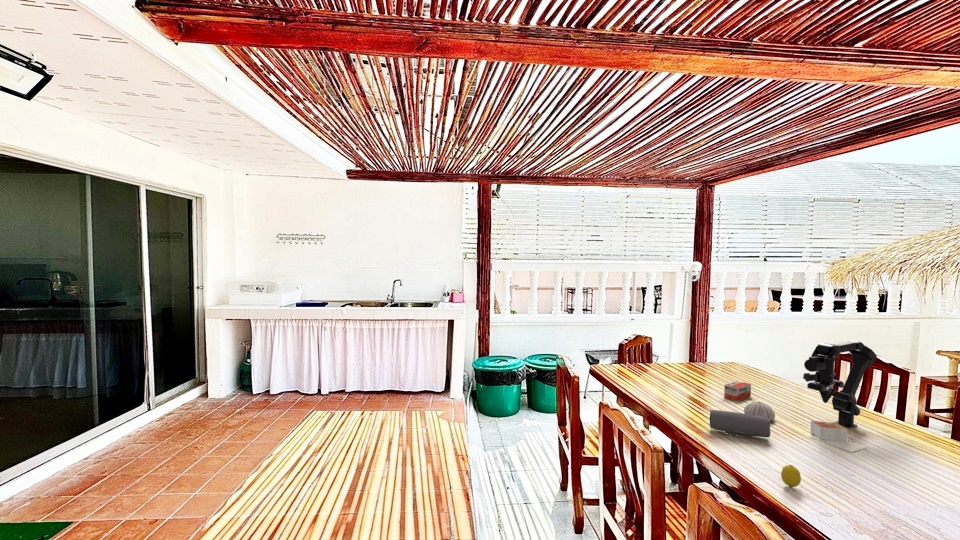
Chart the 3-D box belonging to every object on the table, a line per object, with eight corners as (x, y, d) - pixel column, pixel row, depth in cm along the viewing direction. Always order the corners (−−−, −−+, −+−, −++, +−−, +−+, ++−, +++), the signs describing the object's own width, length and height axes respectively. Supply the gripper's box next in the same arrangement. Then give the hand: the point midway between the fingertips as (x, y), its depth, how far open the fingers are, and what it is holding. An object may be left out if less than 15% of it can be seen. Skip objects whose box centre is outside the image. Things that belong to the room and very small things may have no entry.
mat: (823, 433, 193) (823, 432, 193) (866, 448, 178) (866, 447, 178) (809, 437, 189) (809, 436, 189) (852, 452, 174) (852, 451, 174)
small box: (848, 429, 183) (820, 427, 186) (847, 441, 184) (820, 439, 186) (836, 422, 191) (810, 420, 193) (835, 434, 191) (809, 432, 194)
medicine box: (736, 393, 251) (736, 380, 251) (751, 397, 245) (751, 383, 245) (723, 397, 243) (723, 384, 243) (738, 401, 236) (738, 387, 236)
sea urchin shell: (771, 425, 202) (771, 409, 202) (739, 417, 212) (739, 401, 212) (778, 418, 211) (779, 403, 211) (748, 411, 221) (748, 396, 221)
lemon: (776, 483, 149) (777, 461, 149) (791, 483, 149) (792, 460, 149) (789, 492, 143) (790, 469, 143) (804, 491, 144) (805, 468, 144)
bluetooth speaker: (766, 435, 190) (766, 413, 190) (770, 443, 181) (771, 421, 181) (709, 426, 200) (709, 406, 199) (710, 434, 191) (711, 412, 191)
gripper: (818, 364, 210) (817, 395, 211) (795, 368, 203) (794, 399, 203) (845, 370, 200) (843, 402, 201) (822, 373, 193) (820, 407, 193)
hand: (825, 402), depth 200 cm, fingers closed
